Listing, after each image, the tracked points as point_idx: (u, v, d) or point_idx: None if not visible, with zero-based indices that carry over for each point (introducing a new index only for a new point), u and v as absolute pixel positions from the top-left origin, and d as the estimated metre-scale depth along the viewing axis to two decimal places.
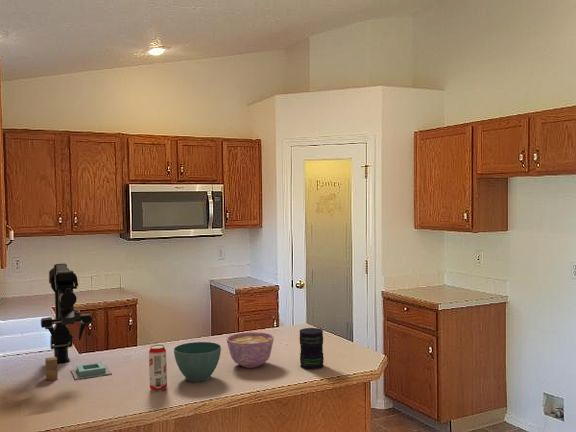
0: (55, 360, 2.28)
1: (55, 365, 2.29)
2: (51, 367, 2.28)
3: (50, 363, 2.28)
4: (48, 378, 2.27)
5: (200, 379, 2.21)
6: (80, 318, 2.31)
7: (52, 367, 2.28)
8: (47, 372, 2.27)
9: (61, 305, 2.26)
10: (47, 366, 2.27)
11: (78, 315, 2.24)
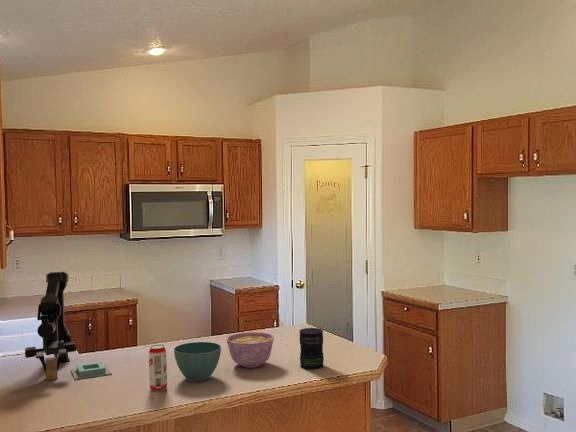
0: (55, 360, 2.28)
1: (55, 365, 2.28)
2: (51, 367, 2.28)
3: (50, 363, 2.28)
4: (48, 378, 2.27)
5: (200, 379, 2.21)
6: None
7: (52, 367, 2.28)
8: (47, 372, 2.27)
9: None
10: (47, 366, 2.27)
11: (62, 345, 2.24)
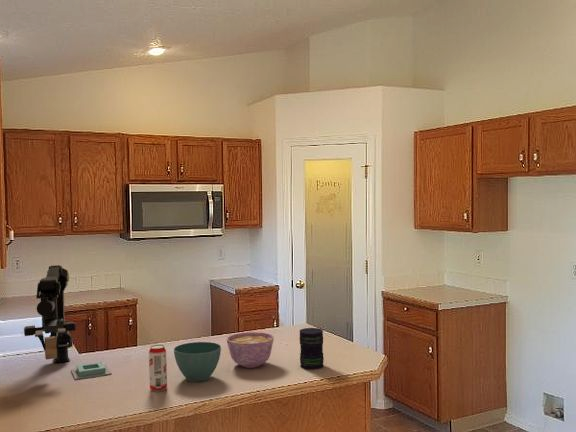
0: (54, 339, 2.28)
1: (54, 344, 2.28)
2: (50, 346, 2.27)
3: (50, 342, 2.27)
4: (47, 357, 2.27)
5: (200, 379, 2.21)
6: None
7: (51, 346, 2.28)
8: (46, 351, 2.27)
9: None
10: (46, 345, 2.27)
11: (61, 323, 2.24)
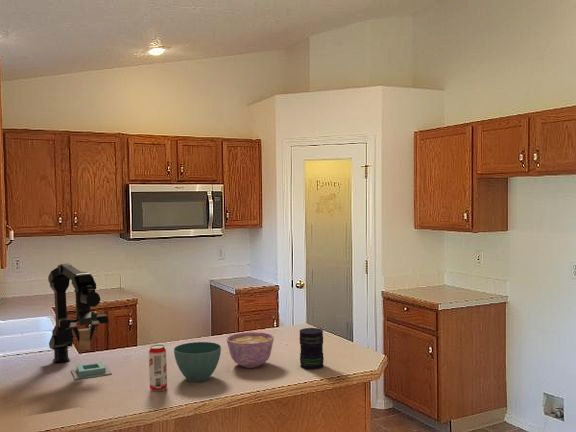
0: (88, 331, 2.34)
1: (88, 336, 2.34)
2: (84, 338, 2.33)
3: (83, 333, 2.33)
4: (81, 348, 2.33)
5: (200, 379, 2.21)
6: None
7: (85, 338, 2.33)
8: (80, 342, 2.33)
9: (78, 306, 2.32)
10: (80, 337, 2.32)
11: (95, 316, 2.30)
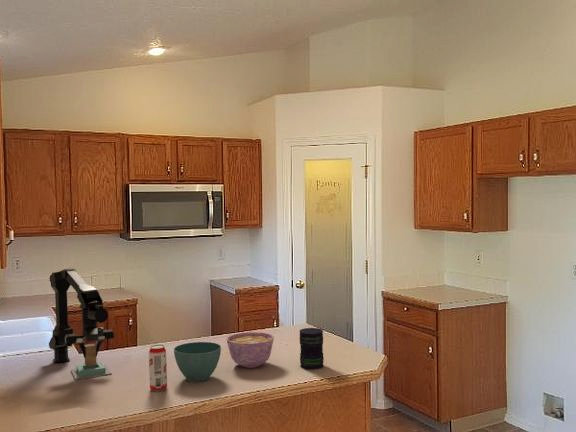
0: (94, 346, 2.35)
1: (94, 351, 2.35)
2: (90, 353, 2.35)
3: (90, 349, 2.34)
4: (87, 364, 2.34)
5: (200, 379, 2.21)
6: None
7: (91, 353, 2.35)
8: (87, 358, 2.34)
9: (85, 322, 2.33)
10: (86, 352, 2.34)
11: (101, 332, 2.31)
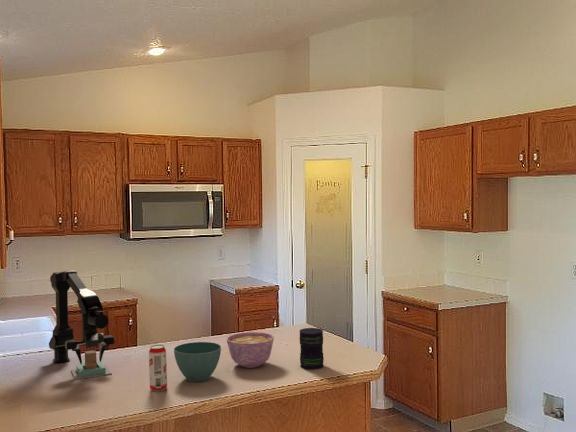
0: (94, 353, 2.35)
1: (94, 358, 2.35)
2: (91, 360, 2.35)
3: (90, 356, 2.34)
4: None
5: (200, 379, 2.21)
6: None
7: (92, 360, 2.35)
8: (87, 365, 2.34)
9: (85, 328, 2.33)
10: (87, 359, 2.34)
11: (102, 338, 2.31)
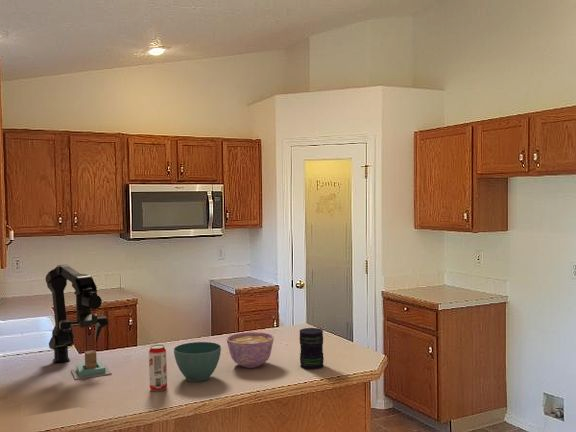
0: (94, 353, 2.35)
1: (94, 358, 2.35)
2: (91, 360, 2.35)
3: (90, 356, 2.34)
4: None
5: (200, 379, 2.21)
6: (97, 321, 2.40)
7: (92, 360, 2.35)
8: (87, 365, 2.34)
9: (79, 308, 2.35)
10: (87, 359, 2.34)
11: (95, 318, 2.33)
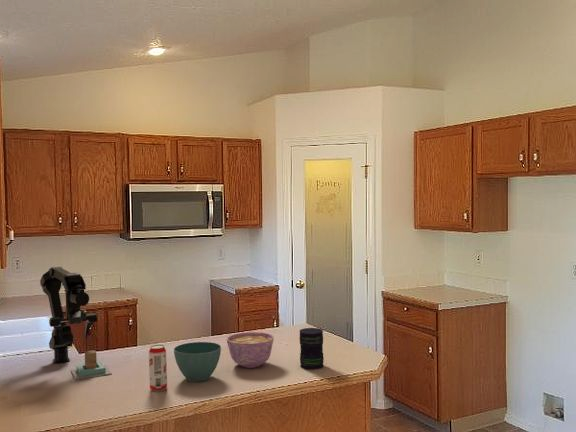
0: (94, 353, 2.35)
1: (94, 358, 2.35)
2: (91, 360, 2.35)
3: (90, 356, 2.34)
4: None
5: (200, 379, 2.21)
6: (86, 318, 2.44)
7: (92, 360, 2.35)
8: (87, 365, 2.34)
9: (68, 305, 2.40)
10: (87, 359, 2.34)
11: (84, 315, 2.38)
